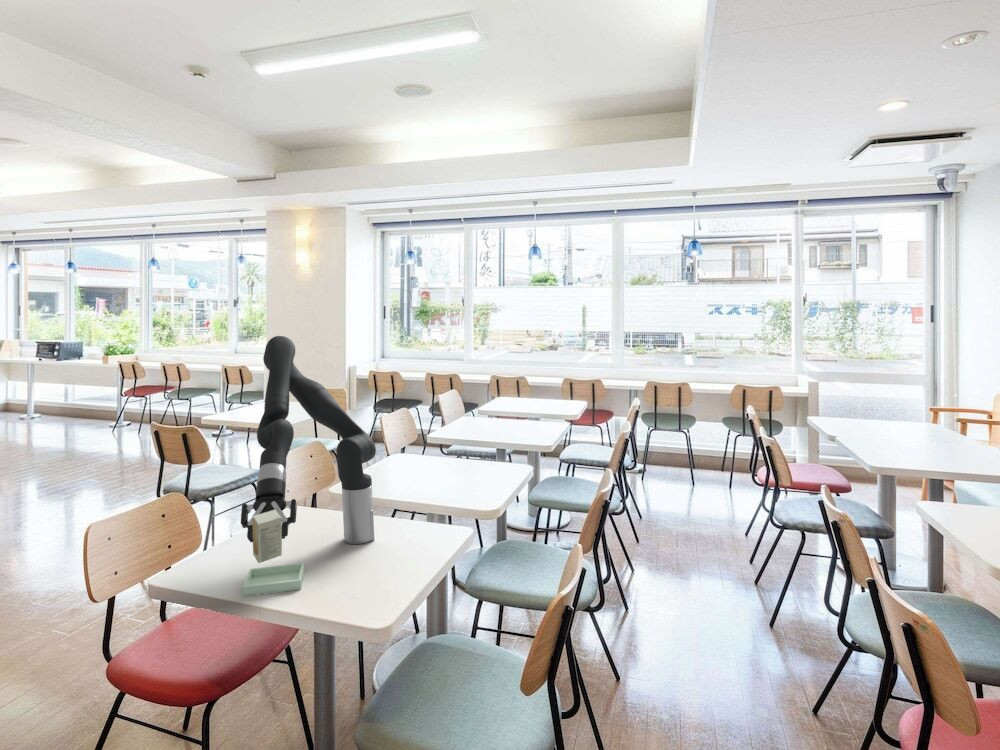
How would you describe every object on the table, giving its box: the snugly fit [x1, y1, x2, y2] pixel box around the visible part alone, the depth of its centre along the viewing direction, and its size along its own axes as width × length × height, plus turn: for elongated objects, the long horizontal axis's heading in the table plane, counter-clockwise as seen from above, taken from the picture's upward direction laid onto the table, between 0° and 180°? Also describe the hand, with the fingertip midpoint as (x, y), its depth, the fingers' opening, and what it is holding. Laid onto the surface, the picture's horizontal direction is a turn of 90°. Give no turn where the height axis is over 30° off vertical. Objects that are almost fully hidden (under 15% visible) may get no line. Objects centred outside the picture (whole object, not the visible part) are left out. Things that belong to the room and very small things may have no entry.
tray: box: [242, 562, 305, 597], centre depth 151 cm, size 14×11×2 cm
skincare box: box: [251, 510, 283, 564], centre depth 148 cm, size 6×4×12 cm
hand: (267, 539), depth 148 cm, fingers closed on skincare box, 7 cm apart
